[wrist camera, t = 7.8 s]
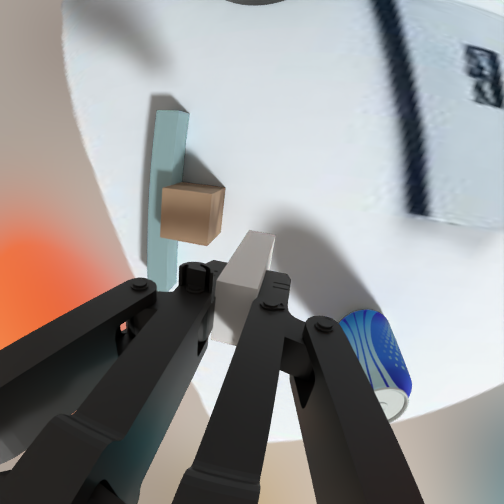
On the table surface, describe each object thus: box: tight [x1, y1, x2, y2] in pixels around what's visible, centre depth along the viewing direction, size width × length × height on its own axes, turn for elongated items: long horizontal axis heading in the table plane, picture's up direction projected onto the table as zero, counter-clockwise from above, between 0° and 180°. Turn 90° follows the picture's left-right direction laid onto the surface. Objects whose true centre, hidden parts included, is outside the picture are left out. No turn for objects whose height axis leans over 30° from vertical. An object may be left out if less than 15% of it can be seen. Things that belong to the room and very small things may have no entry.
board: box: [147, 110, 189, 292], centre depth 37 cm, size 24×3×4 cm, turn 172°
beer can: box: [339, 309, 412, 423], centre depth 33 cm, size 8×8×16 cm
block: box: [160, 182, 225, 246], centre depth 36 cm, size 6×6×6 cm
